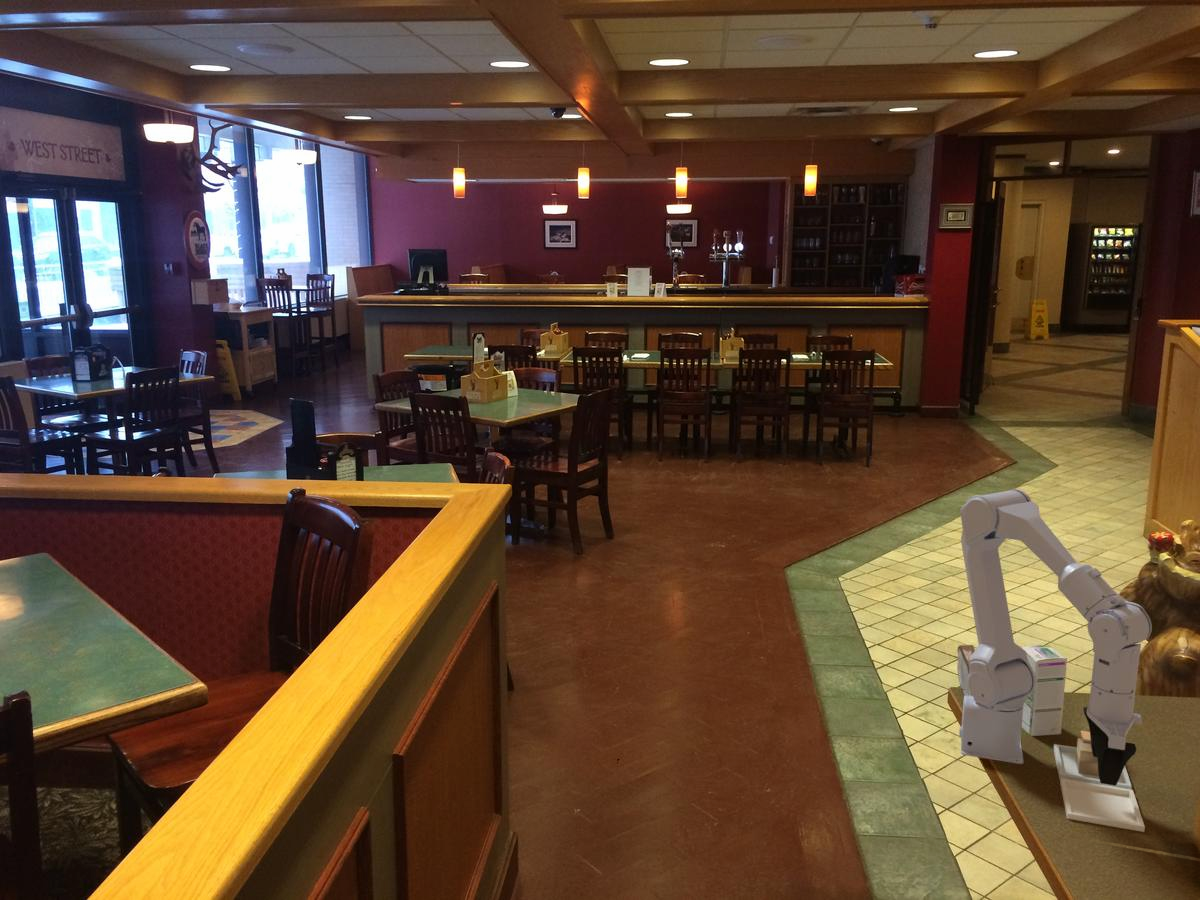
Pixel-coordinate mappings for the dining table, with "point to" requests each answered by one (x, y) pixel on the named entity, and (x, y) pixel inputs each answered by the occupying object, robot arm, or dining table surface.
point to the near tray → (1101, 804)
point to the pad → (1086, 735)
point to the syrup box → (1045, 691)
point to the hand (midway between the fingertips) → (1104, 769)
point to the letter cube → (1086, 758)
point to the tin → (964, 666)
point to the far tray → (1069, 769)
